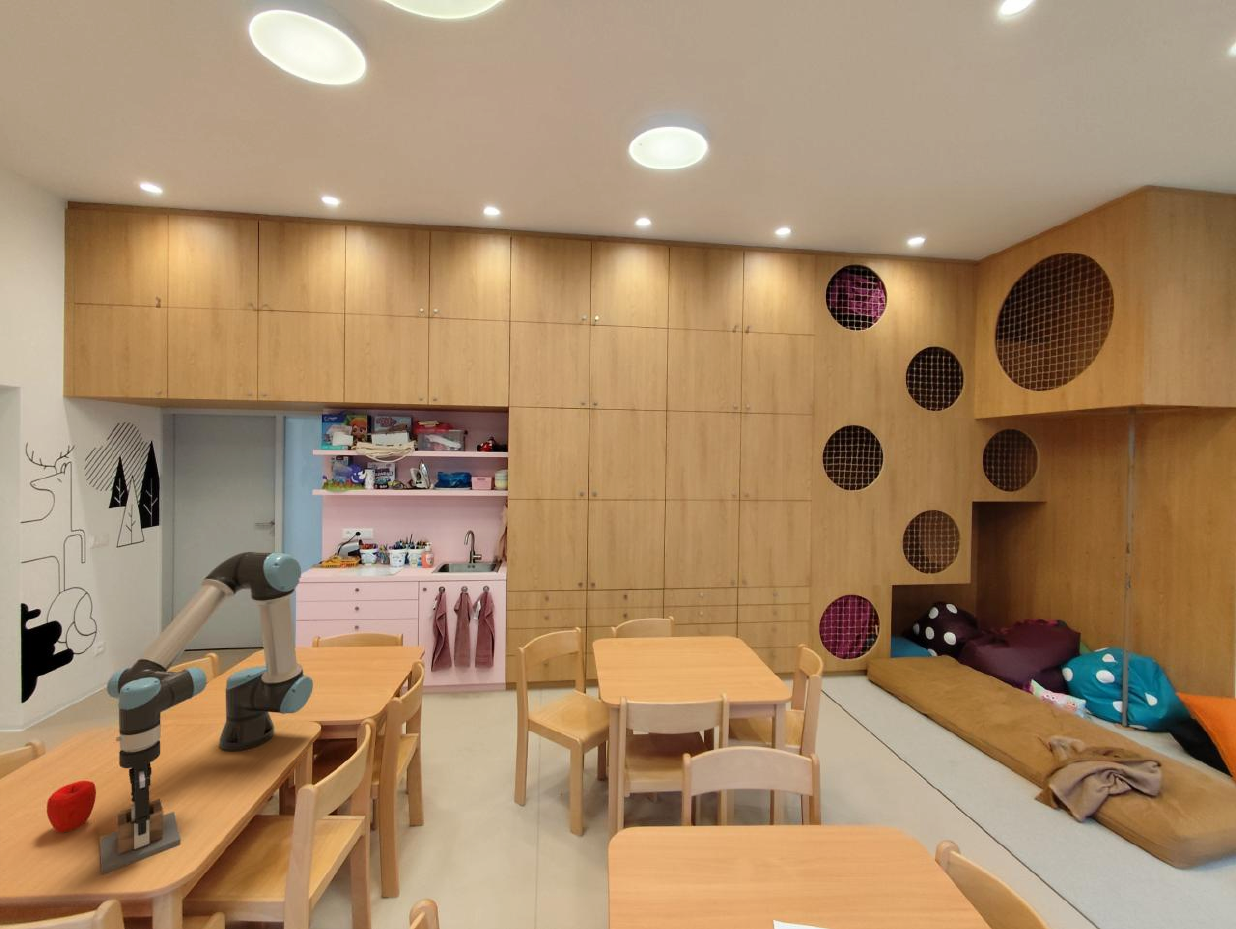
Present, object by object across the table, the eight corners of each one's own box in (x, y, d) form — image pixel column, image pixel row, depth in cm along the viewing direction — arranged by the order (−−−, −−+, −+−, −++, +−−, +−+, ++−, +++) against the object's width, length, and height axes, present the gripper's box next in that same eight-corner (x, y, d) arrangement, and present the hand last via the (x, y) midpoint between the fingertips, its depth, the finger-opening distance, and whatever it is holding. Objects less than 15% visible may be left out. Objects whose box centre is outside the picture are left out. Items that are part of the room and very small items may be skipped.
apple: (64, 842, 131) (64, 799, 131) (36, 838, 133) (36, 795, 132) (105, 818, 140) (105, 777, 140) (78, 814, 141) (78, 774, 141)
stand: (173, 816, 141) (173, 781, 141) (180, 843, 131) (180, 806, 131) (100, 842, 131) (100, 805, 131) (101, 874, 121) (101, 834, 121)
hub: (159, 821, 137) (159, 798, 137) (162, 837, 131) (162, 813, 131) (116, 837, 131) (117, 812, 131) (118, 854, 126) (118, 829, 125)
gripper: (117, 734, 136) (117, 822, 136) (121, 769, 121) (121, 868, 121) (156, 723, 141) (156, 809, 141) (164, 756, 126) (164, 851, 127)
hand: (140, 836), depth 131 cm, fingers closed on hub, 8 cm apart
